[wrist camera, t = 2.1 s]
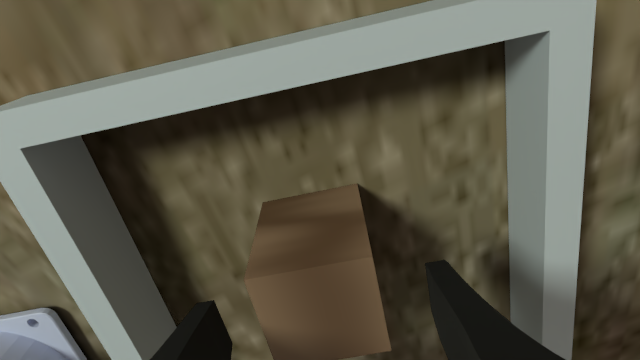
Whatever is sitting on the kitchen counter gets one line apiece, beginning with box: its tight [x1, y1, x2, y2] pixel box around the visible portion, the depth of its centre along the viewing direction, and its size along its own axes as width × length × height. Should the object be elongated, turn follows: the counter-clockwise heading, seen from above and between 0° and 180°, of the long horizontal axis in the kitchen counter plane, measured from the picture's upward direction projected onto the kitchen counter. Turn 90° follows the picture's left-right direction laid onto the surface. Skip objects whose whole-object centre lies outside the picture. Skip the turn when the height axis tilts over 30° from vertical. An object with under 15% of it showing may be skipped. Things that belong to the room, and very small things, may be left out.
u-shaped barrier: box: [0, 0, 596, 360], centre depth 16 cm, size 18×15×3 cm
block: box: [244, 184, 391, 360], centre depth 15 cm, size 4×4×5 cm
